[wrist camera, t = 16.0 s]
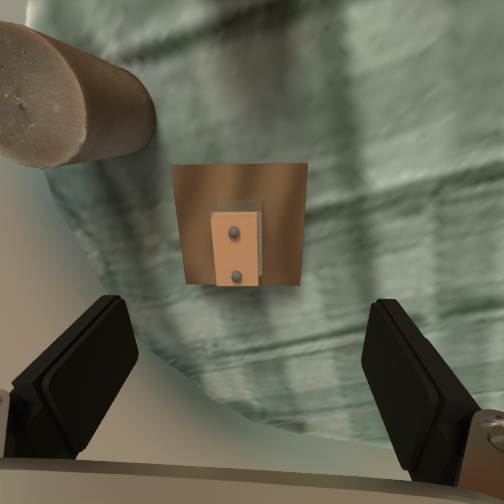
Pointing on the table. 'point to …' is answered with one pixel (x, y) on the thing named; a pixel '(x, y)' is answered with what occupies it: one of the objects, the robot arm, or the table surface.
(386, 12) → the table surface
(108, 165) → the table surface
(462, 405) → the robot arm
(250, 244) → the cover
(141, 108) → the pillar candle
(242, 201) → the housing base
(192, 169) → the walnut stand
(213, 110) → the table surface
